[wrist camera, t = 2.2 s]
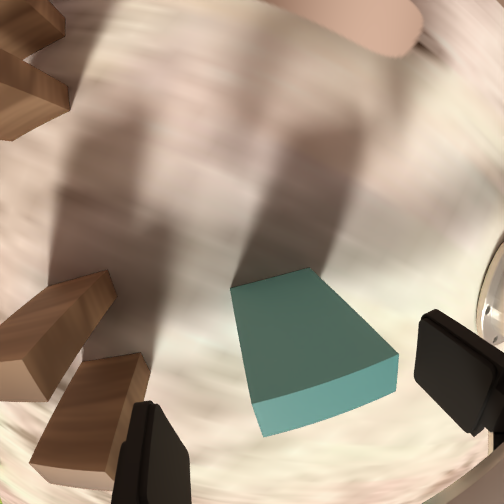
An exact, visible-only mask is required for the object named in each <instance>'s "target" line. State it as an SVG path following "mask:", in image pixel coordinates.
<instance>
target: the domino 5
mask: <svg viewBox="0 0 504 504" xmlns="http://www.w3.org/2000/svg"><path fill="white" fill-rule="evenodd" d="M230 291H231V297H232V303H233V308H234V314H235V319H236V325H237V330H238V336H239V341H240V347H241V352H242V357H243V362H244V368H245V373H246V378H247V383H248V388H249V393H250V398H251V403H252V406H253V409H254V412H255V415H256V418H257V421H258V424H259V427H260V429H261V432H262V435H263V437H267V436H271V435H275V434H279V433H282V432H286V431H290V430H293V429H297V428H300V427H303V426H307V425H310V424H313V423H316V422H319V421H322V420H325V419H328V418H331V417H334V416H337V415H339V414H342V413H345V412H348V411H350V410H353V409H355V408H358V407H360V406H363V405H365V404H368V403H370V402H372V401H375V400H377V399H379V398H382V397H384V396H386V395H388V394H391V393H393V392H395V391H396V384H397V373H398V359H399V354H398V353H397V352H396V351H395V350H394V349H393V348H392V347H391V346H390V345H389V344H388V343H387V342H386V341H385V340H384V339H383V338H382V337H381V336H380V335H379V334H378V333H377V332H376V331H375V330H374V329H373V328H372V327H371V326H370V325H369V324H368V323H367V322H366V321H365V320H364V319H363V318H362V317H361V316H360V315H359V314H358V313H357V312H356V311H355V310H353V309H352V308H351V307H350V306H349V305H348V304H347V303H346V302H345V301H344V300H343V299H342V298H341V297H340V296H339V295H338V294H337V293H336V292H335V291H334V290H333V289H332V288H331V287H329V286H328V285H327V284H326V283H325V282H324V281H323V280H322V279H321V278H320V277H319V276H318V275H317V274H316V273H315V272H314V271H313V270H311V269H310V268H306V269H302V270H298V271H295V272H291V273H287V274H284V275H280V276H276V277H272V278H268V279H265V280H261V281H257V282H253V283H249V284H245V285H241V286H237V287H233V288H230Z"/></svg>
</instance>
